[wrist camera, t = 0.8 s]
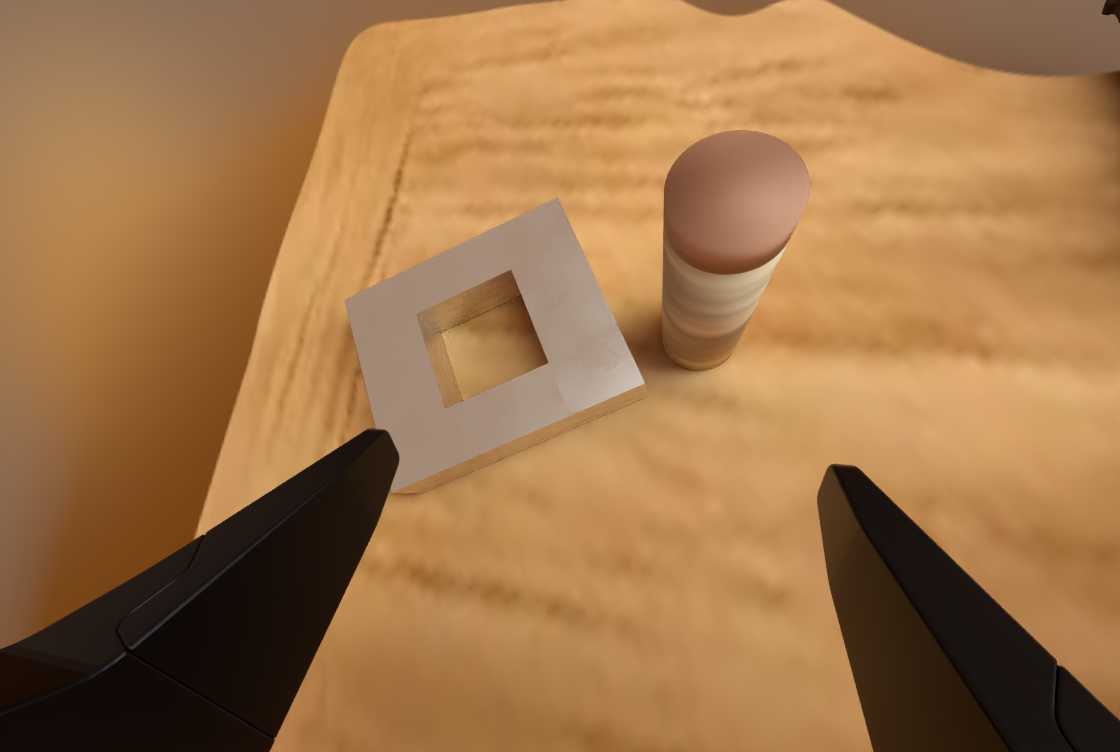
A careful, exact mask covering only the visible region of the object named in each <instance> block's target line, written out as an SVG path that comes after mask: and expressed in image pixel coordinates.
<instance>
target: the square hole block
mask: <svg viewBox="0 0 1120 752" xmlns="http://www.w3.org/2000/svg"><path fill="white" fill-rule="evenodd" d="M520 295H522V298H523V300H524V303H525V305H526V308H527V310H528V313H529V315H530V318H531V320H532V323H533V325H534V328H535V330H536V333H537V335H538V338H539V340H540V343H541V345H542V348H543V350H544V353H545V355H546V358H547V360H548V363H547V364H545V365H543V366H541V367H538V368H536V369H534V370H532V371H529V372H527V373H525V374H523V375H520V376H518V377H516V378H514V379H511V380H509V381H507V382H505V383H502V384H500V385H498V386H496V387H494V388H491V389H489V390H487V391H485V392H482V393H480V394H478V395H476V396H473V397H471V398H469V399H467V400H464V401H462V399H461V396H460V392H459V389H458V386H457V383H456V380H455V377H454V374H453V370H452V367H451V364H450V361H449V358H448V355H447V352H446V349H445V345H444V342H443V339H442V336H441V332H443V331H445V330H447V329H449V328H451V327H453V326H456V325H458V324H460V323H462V322H464V321H466V320H469V319H471V318H473V317H475V316H477V315H479V314H481V313H484V312H486V311H488V310H490V309H492V308H494V307H497V306H499V305H501V304H503V303H505V302H507V301H510V300H512V299H514V298H516V297H518V296H520ZM345 304H346V308H347V312H348V316H349V320H350V324H351V329H352V333H353V337H354V341H355V345H356V349H357V353H358V357H359V361H360V365H361V369H362V373H363V378H364V382H365V386H366V390H367V394H368V398H369V402H370V406H371V410H372V414H373V418H374V422H375V427H376V429H384V430H387V431H388V432H389V434H390V436H391V438H392V440H393V442H394V444H395V446H396V448H397V450H398V452H399V457H400V460H399V465H398V468H397V471H396V474H395V477H394V479H393V482H392V485H391V492H392V493H423V492H426V491H428V490H430V489H433V488H435V487H437V486H440V485H442V484H444V483H447V482H449V481H451V480H454V479H456V478H458V477H461V476H463V475H465V474H468V473H470V472H472V471H475V470H477V469H479V468H482V467H484V466H486V465H489V464H491V463H493V462H496V461H498V460H500V459H503V458H505V457H507V456H510V455H512V454H514V453H517V452H519V451H521V450H524V449H526V448H528V447H531V446H533V445H535V444H538V443H540V442H542V441H545V440H547V439H549V438H552V437H554V436H556V435H559V434H561V433H563V432H566V431H568V430H570V429H573V428H575V427H577V426H580V425H582V424H584V423H587V422H589V421H591V420H594V419H596V418H598V417H601V416H603V415H605V414H608V413H610V412H612V411H615V410H617V409H619V408H622V407H624V406H626V405H629V404H631V403H633V402H636V401H638V400H640V399H643V398H645V397H647V394H646V386H645V382H644V380H643V378H642V375H641V373H640V371H639V369H638V367H637V365H636V363H635V361H634V358H633V356H632V354H631V352H630V350H629V348H628V346H627V344H626V342H625V339H624V337H623V335H622V333H621V331H620V329H619V327H618V325H617V322H616V320H615V318H614V316H613V314H612V312H611V310H610V308H609V306H608V303H607V301H606V299H605V297H604V295H603V293H602V291H601V289H600V286H599V284H598V282H597V280H596V278H595V276H594V274H593V272H592V269H591V267H590V265H589V263H588V261H587V259H586V257H585V255H584V253H583V250H582V248H581V246H580V244H579V242H578V240H577V238H576V236H575V233H574V231H573V229H572V227H571V225H570V223H569V221H568V219H567V217H566V214H565V212H564V210H563V208H562V206H561V204H560V202H559V200H558V197H557V198H555V199H553V200H551V201H549V202H547V203H545V204H543V205H541V206H539V207H536V208H534V209H532V210H530V211H528V212H526V213H524V214H522V215H520V216H518V217H516V218H514V219H512V220H509V221H507V222H505V223H503V224H501V225H499V226H497V227H495V228H493V229H491V230H489V231H487V232H485V233H482V234H480V235H478V236H476V237H474V238H472V239H470V240H468V241H466V242H464V243H462V244H460V245H458V246H456V247H453V248H451V249H449V250H447V251H445V252H443V253H441V254H439V255H437V256H435V257H433V258H431V259H429V260H426V261H424V262H422V263H420V264H418V265H416V266H414V267H412V268H410V269H408V270H406V271H404V272H402V273H399V274H397V275H395V276H393V277H391V278H389V279H387V280H385V281H383V282H381V283H379V284H377V285H375V286H373V287H370V288H368V289H366V290H364V291H362V292H360V293H358V294H356V295H354V296H352V297H350V298H348V299H346V300H345Z"/></svg>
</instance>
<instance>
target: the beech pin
mask: <svg viewBox="0 0 1120 752" xmlns="http://www.w3.org/2000/svg"><path fill="white" fill-rule="evenodd" d="M809 195H810V178H809V173H808V170H807V168H806V165H805V163H804V162H803V160H802V158H801V157H800V156H799V154H798V153H797V152H796V151H795V150H794V149H793V148H792V147H791V146H789V145H788V144H787V143H785V142H783V141H782V140H780V139H778V138H776V137H774V136H771V135H768V134H765V133H761V132H757V131H748V130H736V131H727V132H722V133H718V134H715V135H711V136H709V137H707V138H704V139H702V140H700V141H698V142H697V143H695V144H693V145H692V146H691V147H689V148H688V149H687V150H686V151H684V152H683V153H682V154H681V155H680V156H679V157H678V159H677V160H676V161H675V163H674V164H673V165H672V167H671V169H670V171H669V173H668V175H667V178H666V182H665V187H664V228H663V292H662V343H663V347H664V349H665V351H666V353H667V354H668V356H669V357H670V358H671V359H672V360H673V361H674V362H675V363H677V364H678V365H680V366H682V367H684V368H687V369H691V370H708V369H712V368H715V367H717V366H719V365H721V364H722V363H724V362H725V361H726V360H727V359H728V358H729V357H730V356H731V354H732V353H733V351H734V349H735V347H736V345H737V343H738V341H739V339H740V337H741V335H742V333H743V331H744V329H745V327H746V325H747V323H748V321H749V319H750V317H751V315H752V313H753V311H754V309H755V307H756V305H757V303H758V301H759V299H760V297H761V295H762V293H763V291H764V289H765V287H766V285H767V283H768V281H769V279H770V277H771V275H772V273H773V271H774V269H775V267H776V265H777V263H778V261H779V259H780V257H781V255H782V253H783V251H784V249H785V247H786V245H787V243H788V241H789V239H790V237H791V235H792V233H793V231H794V229H795V227H796V225H797V223H798V221H799V219H800V217H801V215H802V213H803V211H804V209H805V207H806V205H807V202H808V199H809Z"/></svg>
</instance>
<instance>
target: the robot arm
mask: <svg viewBox="0 0 1120 752" xmlns="http://www.w3.org/2000/svg"><path fill="white" fill-rule="evenodd" d="M399 460H400V457H399V452H398V450H397V448H396V446H395V444H394V442H393V440H392V438H391V436H390V434H389V432H388V431H387V430H384V429H372V428H371V429H367V430H365V431H364V432H362V433H361V434H359V435H357V436H356V437H354V438H353V439H351V440H350V441H348V442H347V443H345V444H343V445H342V446H340V447H339V448H337V449H336V450H334V451H332V452H331V453H329V454H328V455H326V456H325V457H323V458H322V459H320V460H318V461H317V462H315V463H314V464H312V465H311V466H309V467H308V468H306V469H304V470H303V471H301V472H300V473H298V474H297V475H295V476H293V477H292V478H290V479H289V480H287V481H286V482H284V483H283V484H281V485H279V486H278V487H276V488H275V489H273V490H272V491H270V492H268V493H267V494H265V495H264V496H262V497H261V498H259V499H258V500H256V501H254V502H253V503H251V504H250V505H248V506H247V507H245V508H243V509H242V510H240V511H239V512H237V513H236V514H234V515H233V516H231V517H229V518H228V519H226V520H225V521H223V522H222V523H220V524H219V525H217V526H215V527H214V528H212V529H211V530H209V531H208V532H207V533H206V534H205V535H201V536H200V537H198V538H197V539H195V540H193V541H192V542H190V543H189V544H187V545H186V546H184V547H183V548H181V549H179V550H178V551H176V552H175V553H173V554H171V555H170V556H168V557H167V558H165V559H163V560H162V561H160V562H158V563H157V564H155V565H154V566H152V567H150V568H149V569H147V570H145V571H143V572H142V573H140V574H138V575H137V576H135V577H133V578H132V579H130V580H128V581H126V582H125V583H123V584H121V585H120V586H118V587H116V588H114V589H112V590H111V591H109V592H107V593H105V594H104V595H102V596H100V597H98V598H97V599H95V600H93V601H92V602H90V603H88V604H86V605H84V606H83V607H81V608H79V609H78V610H76V611H74V612H72V613H71V614H69V615H67V616H65V617H64V618H62V619H60V620H58V621H57V622H55V623H53V624H51V625H50V626H48V627H46V628H44V629H43V630H41V631H39V632H37V633H35V634H33V635H32V636H30V637H28V638H25V639H23V640H21V641H19V642H17V643H15V644H12V645H10V646H7V647H5V648H2V649H0V752H270V749H271V747H272V745H273V743H274V741H275V739H274V738H276V736H277V734H278V732H279V730H280V728H281V726H282V724H283V722H284V719H285V717H286V715H287V713H288V711H289V709H290V707H291V705H292V703H293V701H294V698H295V696H296V694H297V692H298V690H299V688H300V686H301V684H302V682H303V680H304V677H305V675H306V673H307V671H308V669H309V667H310V665H311V663H312V661H313V659H314V656H315V654H316V652H317V650H318V648H319V646H320V644H321V642H322V640H323V638H324V635H325V633H326V631H327V629H328V627H329V625H330V623H331V621H332V619H333V617H334V614H335V612H336V610H337V608H338V606H339V604H340V602H341V600H342V598H343V596H344V593H345V591H346V589H347V587H348V585H349V583H350V581H351V579H352V577H353V575H354V572H355V570H356V568H357V566H358V564H359V562H360V560H361V558H362V556H363V554H364V551H365V549H366V547H367V545H368V543H369V541H370V539H371V537H372V535H373V532H374V530H375V528H376V526H377V523H378V521H379V518H380V516H381V513H382V510H383V507H384V504H385V502H386V499H387V496H388V493H389V490H390V488H391V485H392V482H393V479H394V477H395V474H396V471H397V468H398V465H399ZM817 504H818V512H819V519H820V526H821V533H822V540H823V547H824V554H825V561H826V568H827V574H828V580H829V586H830V590H831V594H832V599H833V602H834V606H835V610H836V613H837V617H838V621H839V625H840V628H841V632H842V636H843V640H844V643H845V647H846V651H847V655H848V658H849V662H850V666H851V669H852V673H853V677H854V681H855V684H856V688H857V692H858V696H859V699H860V703H861V707H862V711H863V714H864V718H865V722H866V725H867V729H868V733H869V737H870V740H871V744H872V748H873V752H1120V720H1119V719H1118V718H1117V717H1116V716H1115V715H1114V714H1113V713H1112V712H1110V711H1109V710H1108V709H1107V708H1106V707H1105V706H1104V705H1103V704H1102V703H1101V702H1100V701H1099V700H1098V699H1097V698H1096V697H1094V696H1093V695H1092V694H1091V693H1090V692H1089V691H1088V690H1087V689H1086V688H1085V687H1084V686H1083V685H1082V684H1081V683H1080V682H1079V681H1078V680H1077V679H1076V678H1075V677H1074V676H1073V675H1072V674H1071V673H1070V672H1069V671H1068V670H1067V669H1066V668H1064V667H1063V666H1061V665H1057V661H1056V659H1055V658H1054V657H1053V656H1052V655H1051V654H1050V653H1049V652H1048V651H1047V650H1046V649H1045V648H1044V647H1043V646H1042V645H1041V644H1040V643H1038V642H1037V641H1036V640H1035V639H1034V638H1033V637H1032V636H1031V635H1030V634H1029V633H1028V632H1027V631H1026V630H1025V629H1024V628H1023V627H1022V626H1021V625H1020V624H1019V623H1018V622H1017V621H1016V620H1015V619H1014V618H1013V617H1012V616H1011V615H1010V614H1009V613H1008V612H1007V611H1006V610H1004V609H1003V608H1002V607H1001V606H1000V605H999V604H998V603H997V602H996V601H995V600H994V599H993V598H992V597H991V596H990V595H989V594H988V593H987V592H986V591H985V590H984V589H983V588H982V587H981V586H980V585H979V584H978V583H977V582H976V581H975V580H974V579H973V578H972V577H970V576H969V575H968V574H967V573H966V572H965V571H964V570H963V569H962V568H961V567H960V566H959V565H958V564H957V563H956V562H955V561H954V560H953V559H952V558H951V557H950V556H949V555H948V554H947V553H946V552H945V551H944V550H943V549H942V548H941V547H940V546H939V545H937V544H936V543H935V542H934V541H933V540H932V539H931V538H930V537H929V536H928V535H927V534H926V533H925V532H924V531H923V530H922V529H921V528H920V527H919V526H918V525H917V524H916V523H915V522H914V521H913V520H912V519H911V518H910V517H909V516H908V515H907V514H906V513H905V512H903V511H902V510H901V509H900V508H899V507H898V506H897V505H896V504H895V503H894V502H893V501H892V500H891V499H890V498H889V497H888V496H887V495H886V494H885V493H884V492H883V491H882V490H881V489H880V488H879V487H878V486H877V485H876V484H875V483H874V482H873V481H872V480H871V479H869V478H868V477H867V476H866V475H865V474H864V473H863V472H862V471H861V470H860V469H859V468H857V467H856V466H853V465H841V464H831V465H830V466H829V467H828V468H827V470H826V473H825V475H824V478H823V481H822V483H821V486H820V489H819V491H818V496H817Z"/></svg>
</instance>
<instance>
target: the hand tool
mask: <svg viewBox="0 0 1120 752" xmlns="http://www.w3.org/2000/svg"><path fill="white" fill-rule="evenodd" d="M1102 14H1104V15H1110V14H1115V15H1116V17H1117V18H1118V20H1119V23H1120V0H1106V2H1105V5H1104V8H1103V12H1102Z"/></svg>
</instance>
